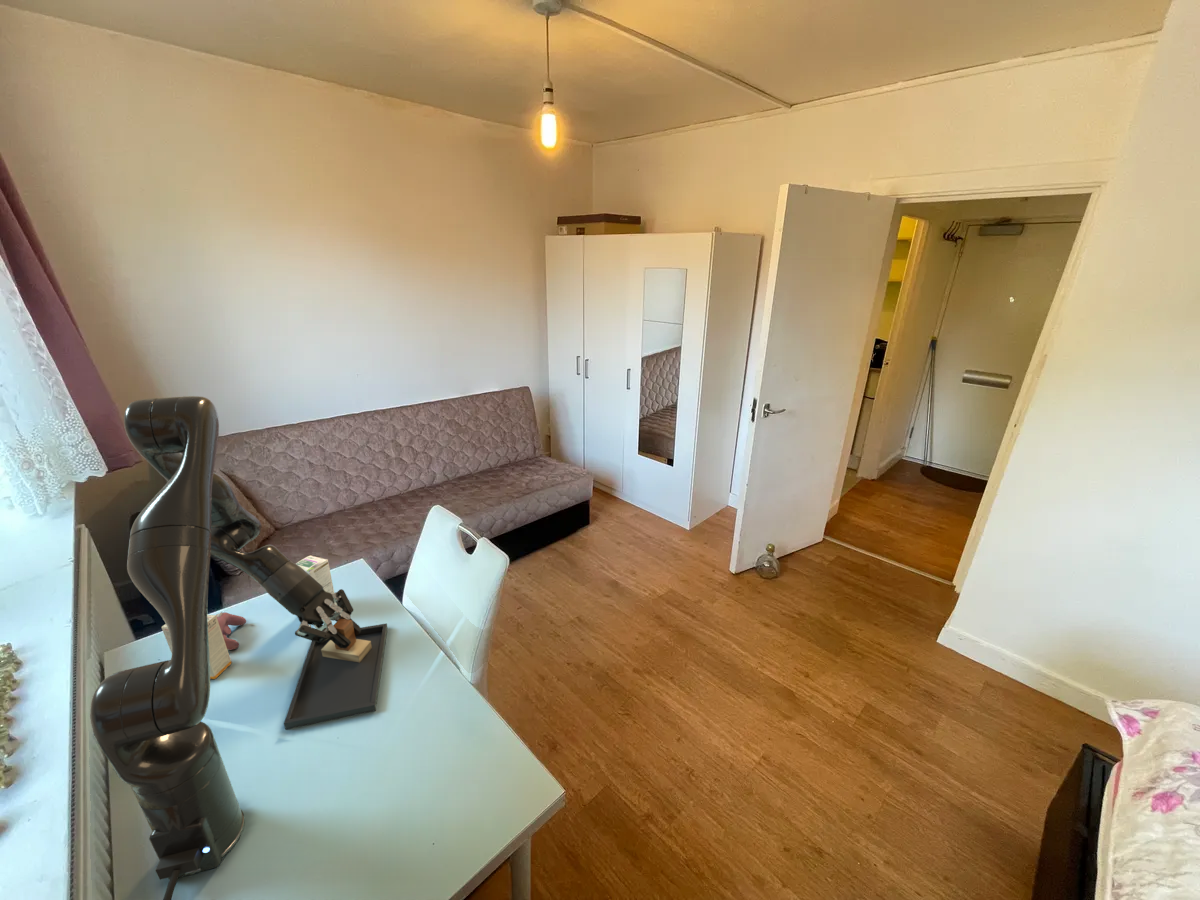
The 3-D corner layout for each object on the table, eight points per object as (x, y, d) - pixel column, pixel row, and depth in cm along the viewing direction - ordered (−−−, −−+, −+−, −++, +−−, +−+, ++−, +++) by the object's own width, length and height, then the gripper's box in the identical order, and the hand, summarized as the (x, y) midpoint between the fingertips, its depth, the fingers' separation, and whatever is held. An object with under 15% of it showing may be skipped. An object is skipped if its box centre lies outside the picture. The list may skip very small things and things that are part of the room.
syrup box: (301, 616, 120) (289, 567, 115) (320, 601, 125) (309, 553, 120) (319, 621, 118) (308, 572, 113) (338, 606, 124) (328, 558, 118)
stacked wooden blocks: (372, 647, 110) (366, 619, 108) (359, 662, 106) (354, 633, 103) (336, 642, 112) (330, 614, 109) (322, 656, 108) (315, 628, 105)
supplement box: (233, 662, 106) (218, 614, 101) (215, 680, 102) (198, 630, 97) (198, 659, 107) (181, 610, 102) (178, 676, 102) (159, 626, 97)
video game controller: (230, 631, 117) (207, 613, 113) (249, 619, 118) (226, 601, 114) (221, 660, 108) (195, 642, 105) (240, 647, 109) (216, 629, 106)
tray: (376, 712, 96) (374, 705, 95) (286, 731, 91) (283, 723, 91) (388, 630, 117) (386, 623, 116) (315, 642, 112) (313, 635, 111)
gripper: (275, 599, 97) (341, 656, 100) (324, 559, 110) (381, 610, 112) (258, 617, 99) (322, 671, 102) (307, 576, 112) (363, 625, 115)
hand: (353, 639), depth 107 cm, fingers closed on stacked wooden blocks, 3 cm apart
